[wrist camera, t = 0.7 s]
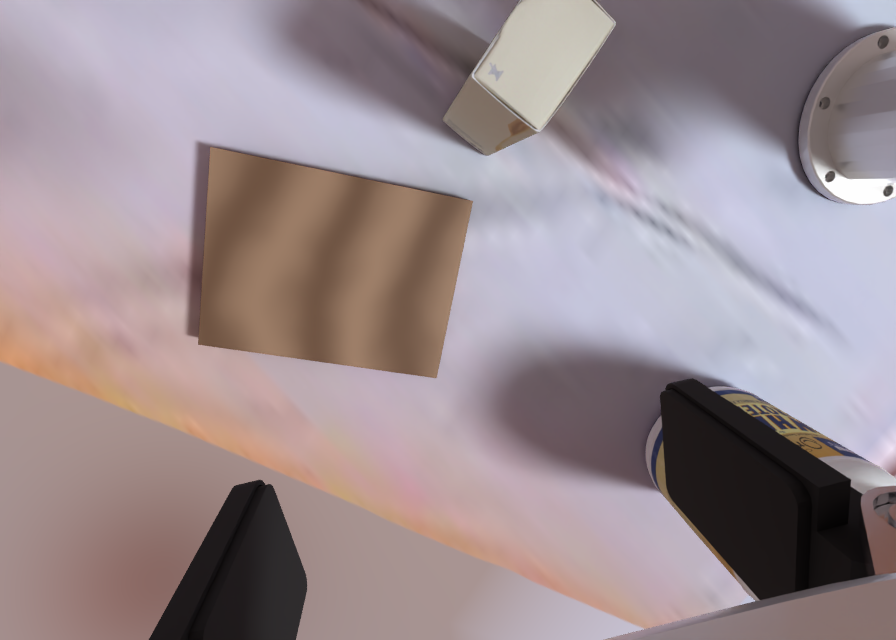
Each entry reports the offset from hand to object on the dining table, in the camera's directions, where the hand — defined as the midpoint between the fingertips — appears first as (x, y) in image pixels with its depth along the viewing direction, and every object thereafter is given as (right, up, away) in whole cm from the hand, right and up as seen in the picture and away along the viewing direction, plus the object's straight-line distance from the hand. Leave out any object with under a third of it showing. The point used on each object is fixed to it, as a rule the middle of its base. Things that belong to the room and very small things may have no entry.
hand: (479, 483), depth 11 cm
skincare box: (+2, +20, +22) cm, 29 cm away
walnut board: (-9, +8, +24) cm, 27 cm away
